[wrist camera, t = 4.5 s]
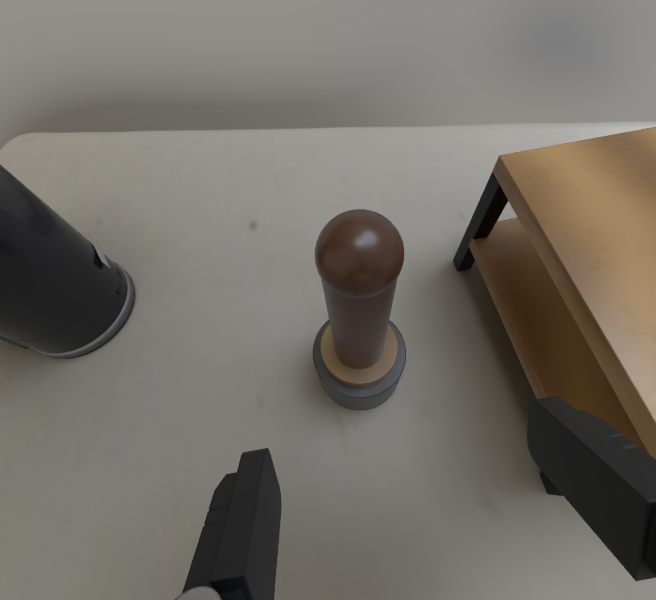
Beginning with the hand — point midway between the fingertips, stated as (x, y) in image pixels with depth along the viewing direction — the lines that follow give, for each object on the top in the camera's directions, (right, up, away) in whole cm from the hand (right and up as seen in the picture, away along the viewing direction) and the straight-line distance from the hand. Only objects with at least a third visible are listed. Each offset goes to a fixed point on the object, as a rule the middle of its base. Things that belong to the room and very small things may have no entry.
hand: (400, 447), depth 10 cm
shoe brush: (0, -1, +15) cm, 16 cm away
